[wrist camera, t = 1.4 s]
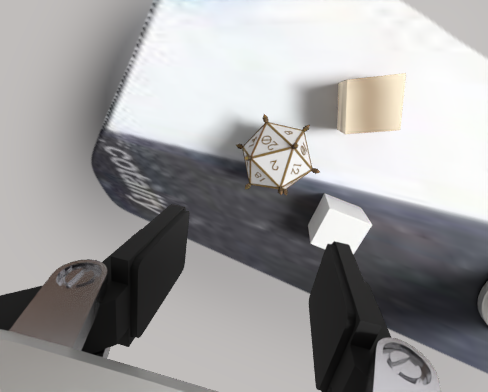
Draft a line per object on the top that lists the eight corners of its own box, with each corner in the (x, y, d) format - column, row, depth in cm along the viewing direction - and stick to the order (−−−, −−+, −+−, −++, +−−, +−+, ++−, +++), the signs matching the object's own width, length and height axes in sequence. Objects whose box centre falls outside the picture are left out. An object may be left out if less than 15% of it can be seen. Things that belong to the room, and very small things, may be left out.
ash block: (386, 77, 28) (405, 73, 23) (382, 125, 29) (400, 130, 25) (338, 83, 29) (347, 79, 24) (337, 129, 30) (345, 134, 26)
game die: (264, 148, 36) (207, 146, 29) (310, 106, 30) (251, 90, 24) (293, 205, 34) (237, 217, 27) (348, 169, 28) (295, 173, 21)
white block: (360, 207, 33) (372, 224, 28) (342, 238, 35) (350, 259, 30) (324, 193, 33) (329, 207, 28) (307, 224, 35) (310, 243, 30)
